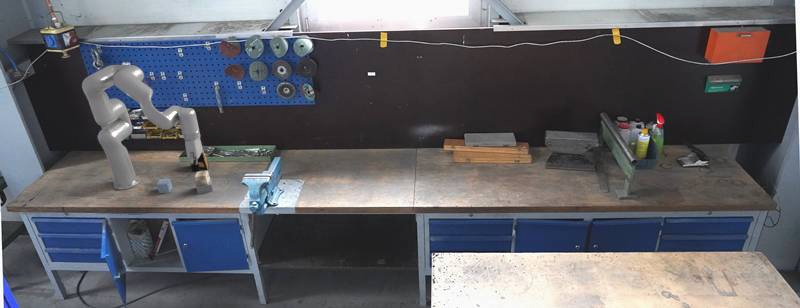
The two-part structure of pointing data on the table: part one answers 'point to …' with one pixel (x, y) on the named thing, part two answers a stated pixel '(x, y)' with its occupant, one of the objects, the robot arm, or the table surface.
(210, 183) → the base block
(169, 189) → the blue cube
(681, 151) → the table surface
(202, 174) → the maple cube
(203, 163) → the ammunition clip
